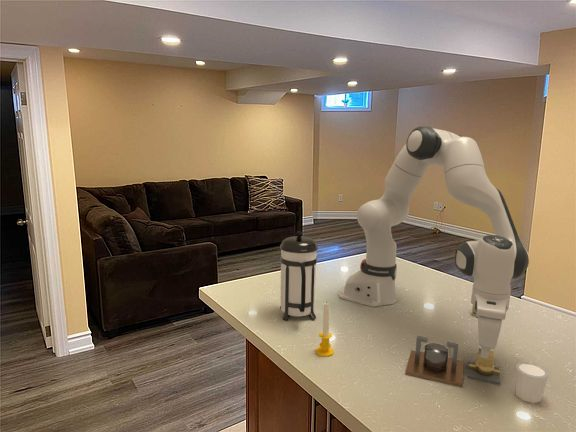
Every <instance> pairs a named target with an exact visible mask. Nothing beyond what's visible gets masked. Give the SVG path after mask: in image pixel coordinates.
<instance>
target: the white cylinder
mask: <svg viewBox="0 0 576 432" xmlns="http://www.w3.org/2000/svg"><path fill="white" fill-rule="evenodd" d="M548 377H549V373H548V371H547V370H546V369H545V368H543V367H542V366H539V365H537V364H535V363H530V362H519V363H517V364H516V365H515V395H516V396H517V397H518V398H520V399H521V400H523V401H524V402H528V403H534V404H536V403H540V402H542V400H543V396H544V395H543V394H544V392H545V388H546V384H547V381H548Z"/></svg>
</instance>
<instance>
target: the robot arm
mask: <svg viewBox="0 0 576 432" xmlns="http://www.w3.org/2000/svg"><path fill="white" fill-rule="evenodd" d="M484 163H485V162H484V159H483V156H482V153H481V150H480V148H479V145H478V143H477V141H476V140H474V139H473V138H471V137H469V136H462V135H459V134H456V133H454V132H451V131H448V130H444V129H439V128H434V127H431V126H427V125H426V126H425V125H421V126H417V127H415V128H414V129H412V130H411V132H410V133H409V134H408V137H407V139H406V143H405V144H404V145H403V147H402V148H401V149H400V151H399V153H398V154H397V156H396V158H395V159H394V161H393V163H392V165H391V167H390V168H389V170H388V173H387V174H386V177H385V178H384V187H385V188H384V191H383V194H382V196H381V197H380V198H378V199H374V200H373V199H372V200H369V201H367V202H365V203H363V204H362V205H360V207H359V208H357V211H356V219H357V222H358V225H359V226H360V227H361V228H362V229H363V231H364V237H365V241H366V256H365V257H366V258H363V259H362V260H361V263H360V265H359V266H360V268H359V269H360V270H358V271H356V272H355V273H353V274H352V275H350V276H349V277H348V278H347V279H346V282H345V285H344V286H343V287H341V288H340V290H339V291H338V293H337V294H338V297H339V299H341V300H345V301H350V302H353V303H357V304H361V305H366V306H369V307H373V308H377V307H380V306H381V307H382V306H389V305H393V304H395V303H396V302H398V296H397V295H398V294H397V290H396V289H397V288H396V278H397V273H398V272H397V271H398V270H397V263H396V262H397V249H398V248H397V242H396V241H395V240H394V239H393V235H392V227H394V226H398V225H400V224H401V223H402V222H404V221H405V220H406V219H407V218H408V216H409V213H410V207H409V206H410V203H411V200H412V197H413V194H414V192H415V190H416V188H417V187H418V185H419V183H420V182H421V180H422V178H423V176H424V175H425V173H426V171H427V169H428V167H429V166H430V165H431V164H432V165H435V166H436V165H438V166H443V171H444V179H445V186H446V189H447V191H448V193H449V195H450V196H451V197H452V198H453V199H454V200H456V201H458V202H460V203H462V204H465V205H467V206H472V207H473V208H475V209H478V210H479V211H482V212H483V213H484V214H486V216H487V217H488V218H489V220H490V222H491V226H492V228H493V231H494V234H486V235H484V236H482V237H481V238H480V239H478V240H469V241H464V242H461V244H460V245H458V247H457V249H456V250H455V256H454V263H455V267H456V268H457V270H458V271H459V272H461V274H462V275H464V276H466V277H471V278H473V280H474V281H473V284H472V289H471V299H470V303H471V304H472V307H473V306H474V308H475V311H476V315H477V316H478V317H477V322H478V323H477V324H478V327H477V328H478V329H477V330H478V332H477V333H478V346H479V348H481V357H482V358H488V356H489V351H490V350H495V349H496V346H497V344H498V340H499V336H500V333H501V328H502V322H503V321H505V320H506V315H507V312H508V310H509V308H510V307H509V306H510V299H511V293H512V288H511V282H512V279H513V280H514V279H517V278H519V277H520V276H522V275H523V274H524V273H525V271H526V270H527V269H528V267H529V263H530V258H529V254H528V252H527V250H526V248H525V246H524V244H523V242H522V241H521V239H520V237H519V234H518V232H517V229H516V226H515V223H514V220H513V218H512V215H511V212H510V210H509V207H508V205H507V202H506V200H505V197H504V196H503V194H502V192H501V190H500V189H499V188H496V187H495V186H494V185H493V183H492V182H491V180H490V179H489V177H488V175H487V173H486V170H485V164H484Z"/></svg>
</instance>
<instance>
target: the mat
mask: <svg viewBox="0 0 576 432" xmlns="http://www.w3.org/2000/svg"><path fill="white" fill-rule="evenodd" d="M469 364H472V365H476V362H474V361H468V360H466V379H470V380H471V379H472V380H474V381H479V382H484V383H488V384H493V385H494V384H495V385H498V386H501V375H500V376H498V375H492V376H483V375H480V374H478V373H477V372H476V371H475V370H471V369H469ZM494 369H495V370H500V368H499V367H498V366H494Z"/></svg>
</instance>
